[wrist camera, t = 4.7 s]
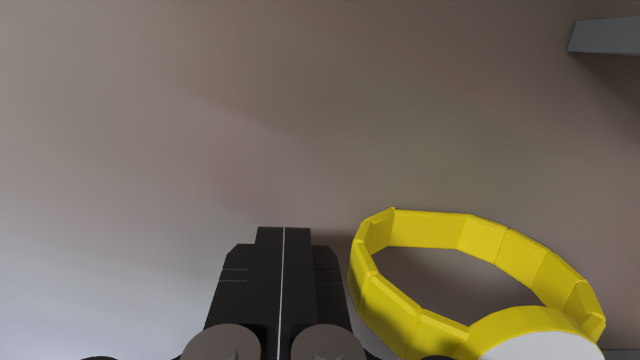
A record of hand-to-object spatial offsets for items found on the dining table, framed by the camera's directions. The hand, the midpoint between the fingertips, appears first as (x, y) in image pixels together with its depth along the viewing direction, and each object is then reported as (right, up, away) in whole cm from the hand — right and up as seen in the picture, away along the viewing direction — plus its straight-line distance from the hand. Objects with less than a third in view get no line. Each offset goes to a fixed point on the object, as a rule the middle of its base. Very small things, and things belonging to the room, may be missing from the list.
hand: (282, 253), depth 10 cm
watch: (+5, +1, +2) cm, 5 cm away
